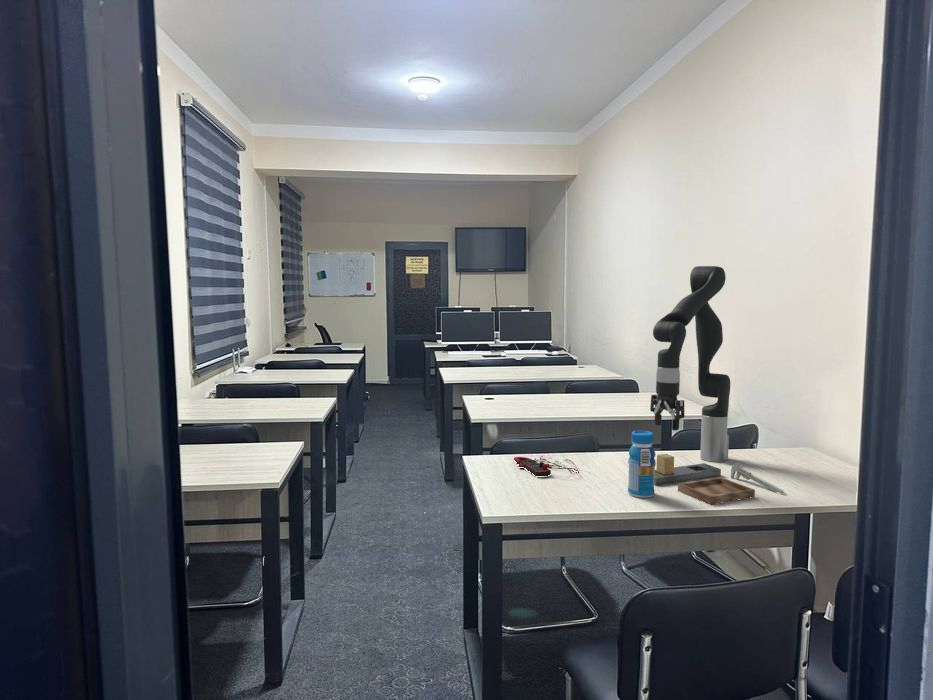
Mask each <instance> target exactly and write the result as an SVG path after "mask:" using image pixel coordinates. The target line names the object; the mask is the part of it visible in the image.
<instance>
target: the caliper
mask: <svg viewBox="0 0 933 700" xmlns="http://www.w3.org/2000/svg"><path fill="white" fill-rule="evenodd" d="M740 465H741V463H738V462H737V461H735V462H734V463H733V464H732V466H731V469H730V478H731V479H734V478H735V479H736V480H735V479H734V480H735V481H737V479H738V480H739V479H740V477H742V478H743V479H745V480H746V481H748V480H751V481H754V482H755V483H757V484H759V485H761V486H763V487H764V488H767V489H768V490H771V491H772V490H773V491H772V492H774V491H776V492H779V493H782V494H781V495H783V494H787V493H786V492H785V491H784V489H782V488H780V487H777V486H776V485H774V484H772V483H770V482H768V481H766V480H764V479H762V478H760V477H758V476H756V475H754V474H753V473H752V472H751V471H749V470H747V469H746V468H744V467H741V466H740ZM776 492H775V493H776Z"/></svg>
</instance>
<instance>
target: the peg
mask: <svg viewBox="0 0 933 700" xmlns="http://www.w3.org/2000/svg"><path fill="white" fill-rule="evenodd" d="M674 467H675V456H673V455H670V454H668V453H663V454H662V453H661V454H657V455H656V467H655V468H656V469H655V470H656V473H659V474H661V475H664V476H665V475H672V474H674Z"/></svg>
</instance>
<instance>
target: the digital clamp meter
mask: <svg viewBox="0 0 933 700" xmlns="http://www.w3.org/2000/svg"><path fill="white" fill-rule="evenodd" d="M543 456H544V455H540V457H539V458H540V459H536V458H534V459H532V458H530V457H525V456H514V457H513V461H514V460H515V461H516V462H517V464H519V467H524V468H526V469H527V470H528V471H530V472H531V473H533V474H534V475H535V476H548V475H550V474H551V473H552V471H551V470H552V469H553V470H554V469H555V470H563V469H564V470H568V471H569V472H570V473H572V472H573V473H575V472H574V471H573V470H571V469H574V470H576V471H578V473H577V472H576V473H575V474H580V470H578V469H576V468H572V467H571V468H568V467H566V466H564V465H563V466H562V465H560V464H557V463H559V462H560V461H558V460H556V462H557V463H554V462H552V461H549V460H546V458H544V457H543ZM565 459H566V458H565ZM565 461H569V462H571V463H572V464H573V465H575V463H574V462H573V461H572V460H570V459H566V460H565ZM517 464H516V465H517ZM519 467H518V468H519ZM560 467H561V468H560ZM535 476H534V477H535Z"/></svg>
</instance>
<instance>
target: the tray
mask: <svg viewBox="0 0 933 700" xmlns="http://www.w3.org/2000/svg"><path fill="white" fill-rule="evenodd" d="M679 491H680V492H679ZM677 492H679V493H681V492H682V494H684V495H686V496H689V497H690V496H691V497H690V498H693V499H696V500H697V499H698V501H700V502H702V501H703V502H702V503H704V502H705V503H704V504H707V505H709V504H713V505H717V504H716V503H719V504H722V503H721V502H725V503H729V502H728V501H731V502H734V501H733V500H737V501H739V500H738V499H742V500H745V499H744V498H748V499H751V498H750V497H754V498H755V496H756V493H755V492H756V489H754V488H751V487H749V486H745V485H743V484H741V483H738V482H735V481H732V480H730V479H727V478H725V477H722V476H718V477H712V478H705V479H698V480H691V481H685V482H678V483H677Z"/></svg>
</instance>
